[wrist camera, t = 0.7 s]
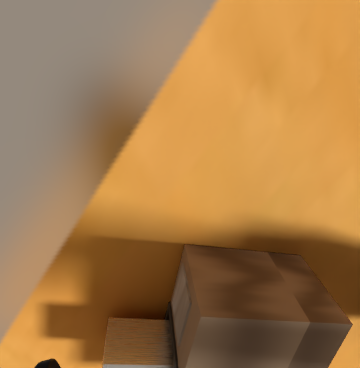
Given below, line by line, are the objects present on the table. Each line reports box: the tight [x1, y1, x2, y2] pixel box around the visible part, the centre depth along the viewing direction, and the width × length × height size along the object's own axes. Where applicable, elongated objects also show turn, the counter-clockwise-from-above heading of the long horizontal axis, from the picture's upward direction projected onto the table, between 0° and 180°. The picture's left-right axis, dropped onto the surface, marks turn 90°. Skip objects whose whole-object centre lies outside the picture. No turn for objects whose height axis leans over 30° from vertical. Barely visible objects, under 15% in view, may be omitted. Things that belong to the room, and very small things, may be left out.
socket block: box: [165, 244, 353, 368], centre depth 24 cm, size 10×14×7 cm
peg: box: [102, 317, 174, 368], centre depth 24 cm, size 7×4×4 cm, turn 79°
